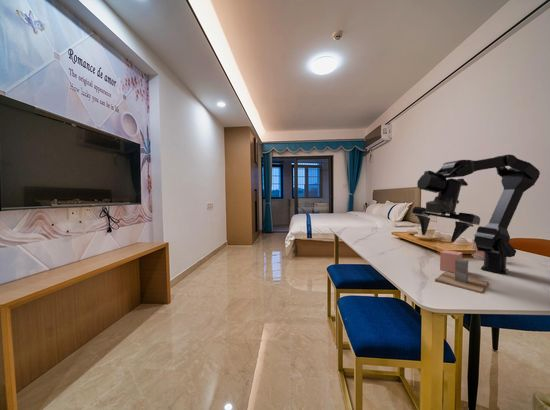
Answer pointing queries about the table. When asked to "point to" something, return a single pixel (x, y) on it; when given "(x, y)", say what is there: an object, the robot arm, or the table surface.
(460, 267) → the taupe inverted t block
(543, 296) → the table surface
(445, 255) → the pink rectangular block
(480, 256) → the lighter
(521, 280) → the table surface
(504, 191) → the robot arm
